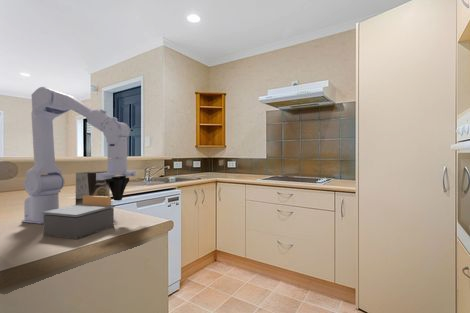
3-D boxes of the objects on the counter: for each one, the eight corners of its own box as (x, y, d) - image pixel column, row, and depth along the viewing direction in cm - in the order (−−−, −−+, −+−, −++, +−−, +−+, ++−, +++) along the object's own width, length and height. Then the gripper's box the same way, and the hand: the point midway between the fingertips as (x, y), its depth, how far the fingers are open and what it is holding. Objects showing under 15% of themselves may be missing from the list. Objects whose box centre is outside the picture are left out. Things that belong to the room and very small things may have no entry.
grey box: (43, 235, 63) (43, 215, 63) (84, 223, 75) (83, 206, 75) (76, 239, 60) (76, 218, 60) (113, 226, 71) (113, 208, 71)
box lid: (42, 214, 63) (42, 202, 63) (84, 204, 75) (83, 195, 75) (76, 217, 59) (76, 204, 59) (114, 207, 71) (114, 196, 71)
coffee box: (90, 220, 77) (90, 172, 77) (74, 219, 79) (74, 172, 79) (110, 214, 86) (110, 170, 86) (95, 213, 88) (95, 170, 88)
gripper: (109, 158, 67) (109, 205, 67) (142, 158, 81) (143, 196, 81) (90, 158, 69) (90, 204, 69) (126, 158, 83) (126, 196, 83)
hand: (117, 200), depth 75 cm, fingers closed
